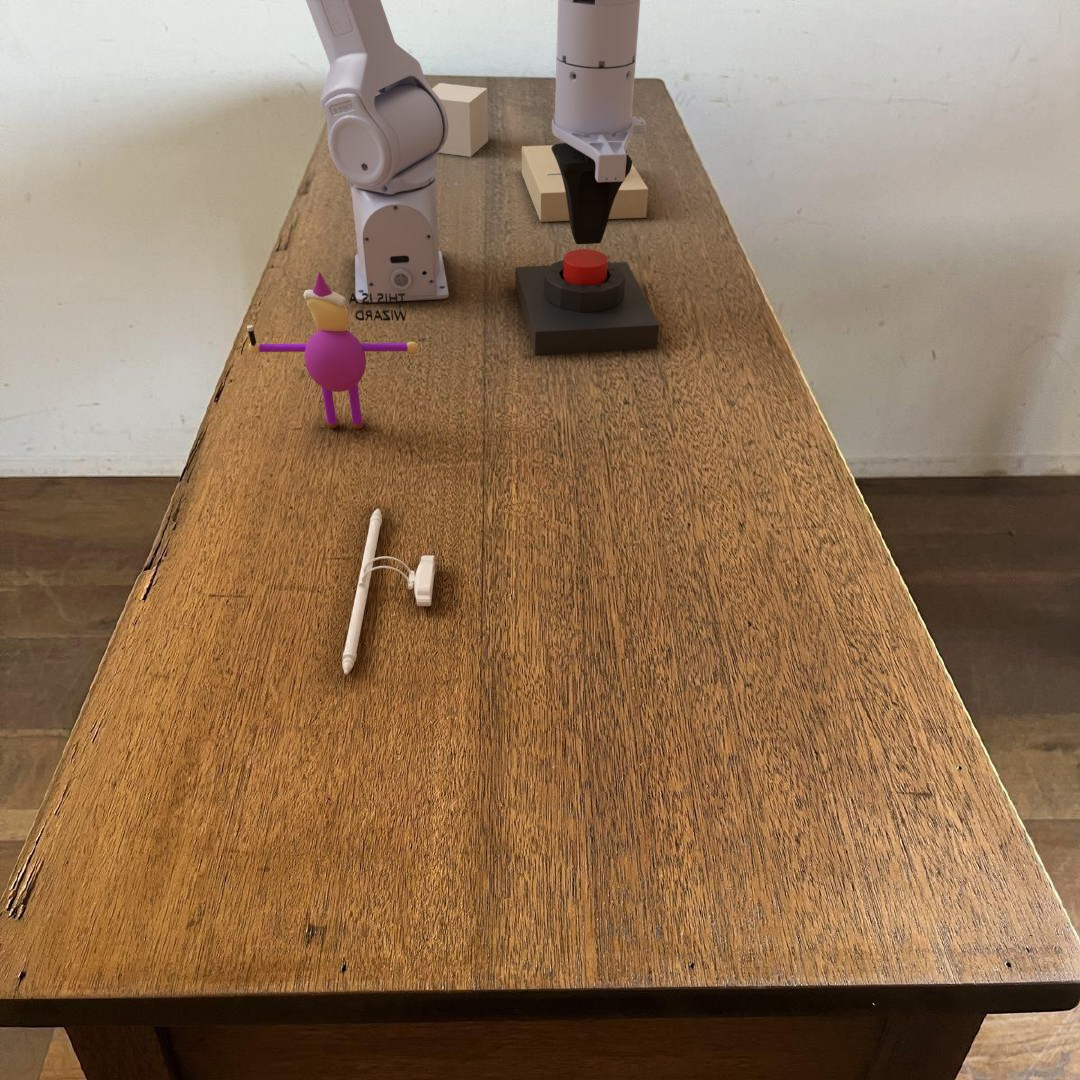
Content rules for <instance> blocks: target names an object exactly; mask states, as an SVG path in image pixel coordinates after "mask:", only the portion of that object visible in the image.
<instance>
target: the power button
mask: <svg viewBox="0 0 1080 1080" xmlns="http://www.w3.org/2000/svg"><path fill="white" fill-rule="evenodd" d="M563 260H564V266H563V278H564V280H565V281H567V282H569V283H572V284H577V285H582V286H587V285H598V284H601V283H604V282H605V281H606V279H607V265H608V262H609V258H608V256H607V255H606V254H605V253H603V252H601V251H599V250H596V249H589V248H588V249H587V248H580V249H579V248H578V249H574V250H571V251H568V252H566V253H565V255H564V256H563Z"/></svg>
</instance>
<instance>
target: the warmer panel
mask: <svg viewBox="0 0 1080 1080" xmlns="http://www.w3.org/2000/svg"><path fill="white" fill-rule="evenodd" d="M553 145H554V144H553ZM553 145H524V146H523V145H522V146H521V175H522V178H523V180H524V183H525V186H526V189H527V191H528V193H529V196H530V199H531V202H532V204H533V207H534V209H535V213H536V214H537V217H538V219H539V222H540V223H549V222H570V219H569V212H568V205H567V198H566V192H565V187H564V183H563V179H562V175H561V172H560V169H559V166H558V163H557V161H556V158H555V156H554V154H553V152H552V150H551V147H552V146H553ZM648 198H649V187H648V186H647V185H646V183H645V181H644V179H643V178H642V177H641V175H640V173H639V172H638V170H637V169H636V167H635V166H634V164H633V163H632V167H631V170H630V172H629V174H628V175H627V177H626V178H625V181H623V183H622V184H621V186H620V188H619V190H618V192H617V194H616V197H615V199H614V202H613V205H612V208H611V211H610V215H609V218H608V220H621V219H623V220H624V219H625V220H626V219H646V218H647V210H648V200H649V199H648Z"/></svg>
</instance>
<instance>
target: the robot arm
mask: <svg viewBox="0 0 1080 1080" xmlns="http://www.w3.org/2000/svg"><path fill="white" fill-rule="evenodd" d="M305 2H306V4H307V7H308V10H309V12H310V14H311V18H312V21H313V23H314V27H315V29H316V31H317V34H318V37H319V39H320V41H321V44H322V47H323V50H324V52H325V55H326V58H327V60H328V63H329V71H328V74H327V77H326V80H325V83H324V86H323V90H322V92H321V95H320V99H319V103H320V106H321V108H322V111H323V115H324V117H325V121H326V126H327V128H326V129H327V147H328V150H329V154H330V157H331V160H332V162H333V163H334V166H335V168H336V169H337V170H338V171H339V173H340V174H341V175H342V176H343V177H344V179H346V186H348V187H350V191H351V192H350V193H351V201H352V212H353V220H354V229H355V239H356V246H357V247H356V249H357V253H356V254H355V255H354V274H355V275H354V276H355V278H354V279H355V282H354V283H355V297H356V299H357V301H358V304H364V303H363V302H362V300H363V298H364V297H366V296H362V293H367V294H368V298H367V299H366V300H364V301H369V303H368V304H371V301H370V293H371V294H372V304H373V303H378V298H380V297H382V296H377V294H378V293H382V294H383V295H384V296H383V299H381V300H379V301H384V303H386V298H385V293H387V303H390V300H389V293H391V297H396V296H395V294H396V293H397V301H398V302H402V300H401V296H398V293H405V296H403V302H409V301H410V302H411V301H412V302H413V301H431V300H433V301H434V300H446V299H448V298H449V295H450V294H449V288H448V287H449V286H448V281H447V276H446V271H445V265H444V258H443V253H442V251H441V250H440V245H439V244H440V243H439V223H438V205H437V202H438V201H437V186H436V184H437V183H436V168H437V154H438V152H439V151H440V150H441V148H442V147H443V145H444V144H445V142H446V139H447V135H448V118H447V114H446V110H445V108H444V106H443V103H442V102H441V100H440V98H439V97H438V96H437V95H436V93H435V92H434V91H433V90H432V88H431V86H430V84H429V83H428V81H427V79H426V78H425V75H424V72H423V69H422V66H421V63H420V62H419V61H418V60H417V59H416V58H415V57H414V56H412V55H411V54H410V53H409V52H407V51H406V50H405V49H404V48H402V47H401V46H400V45H399V44H398V43H397V42H396V40H395V37H394V35H393V33H392V28H391V27H390V23H389V21H388V18H387V17H388V16H387V15H386V12H385V9H384V6H383V3H382V0H305ZM640 8H641V0H557V21H556V22H557V25H556V58H555V59H556V60H555V92H554V93H555V97H554V98H555V100H554V117H553V118H552V120H551V133H552V135H553V136H555V138H557V139H558V140H560V141H562V143H560V142H559V143H555V144H553V146H552V147H551V150H552V152H553V154H554V156H555V158H556V161H557V163H558V166H559V169H560V172H561V175H562V179H563V183H564V187H565V192H566V198H567V205H568V212H569V219H570V221H569V225H570V226H569V227H570V230H571V234H572V237H573V240H574V242H575V245H594V244H595V245H596V244H601V243H602V240H603V238H604V236H605V233H606V229H607V225H608V221H609V219H608V218H609V215H610V211H611V208H612V205H613V202H614V199H615V197H616V194H617V192H618V190H619V188H620V186H621V184H622V183H623V181H625V178H626V177H627V175H628V174H629V172H630V170H631V167H632V164H633V160H632V158H631V157H630V155H629V154H627V152H628V148H629V145H630V143H631V140H632V138H633V136H634V135H642V134H646V133H647V127H648V126H647V122H646V120H645V118H643V117H641V116H632V115H633V104H634V90H635V79H636V78H635V76H636V75H635V74H636V65H637V63H636V61H637V51H638V49H637V48H638V36H639V22H640V12H641V11H640V10H641V9H640ZM392 302H396V300H391V303H392Z"/></svg>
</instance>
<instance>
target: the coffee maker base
mask: <svg viewBox="0 0 1080 1080" xmlns="http://www.w3.org/2000/svg"><path fill="white" fill-rule="evenodd" d="M563 266H564V259H562V260H559V261H556V262H552V263H551V264H550V265H529V266H527V265H526V266H515V270H514V271H515V275H514V277H515V284H514V285H515V286H514V287H515V293H516V296H517V299H518V300H517V301H518V303H519V306H520V310H521V314H522V317H523V320H524V324H525V328H526V330H527V333H528V338H529V340H530V344H531V347H532V351H533V353H534V356H546V355H547V356H548V355H549V356H550V355H565V354H581V353H598V352H600V353H601V352H615V351H633V350H650V349H653V350H654V349H657V348H658V340H659V331H660V324H659V321H658V320H657V318H656V316H655V314H654V312H653V310H652V308H651V307H650V305H649V302H648V301H647V298H646V296H645V295H644V293H643V291H642V288H641V287H640V285H639V282H638V281H637V279H636V278H635V275H634V273H633V272H632V269H631V268H630V266H629V264H628V262H627V261H617V262H615V261H614V262H610V261H608V265H607V279H606V281H605V282H604V283H601V284H598V285H587V286H582V285H577V284H572V283H569V282H567V281H565V280H564V278H563Z"/></svg>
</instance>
